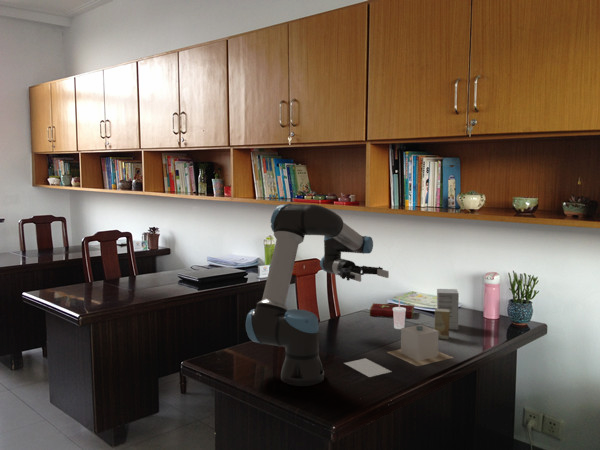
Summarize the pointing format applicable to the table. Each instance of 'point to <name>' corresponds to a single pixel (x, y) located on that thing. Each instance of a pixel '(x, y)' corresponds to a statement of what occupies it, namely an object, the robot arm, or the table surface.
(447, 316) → the skincare box
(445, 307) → the supplement box
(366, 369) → the grey mat
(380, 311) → the hardcover book
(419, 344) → the dust cover
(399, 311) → the beverage cup
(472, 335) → the table surface
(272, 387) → the table surface
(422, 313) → the table surface
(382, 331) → the table surface
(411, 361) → the birch board
